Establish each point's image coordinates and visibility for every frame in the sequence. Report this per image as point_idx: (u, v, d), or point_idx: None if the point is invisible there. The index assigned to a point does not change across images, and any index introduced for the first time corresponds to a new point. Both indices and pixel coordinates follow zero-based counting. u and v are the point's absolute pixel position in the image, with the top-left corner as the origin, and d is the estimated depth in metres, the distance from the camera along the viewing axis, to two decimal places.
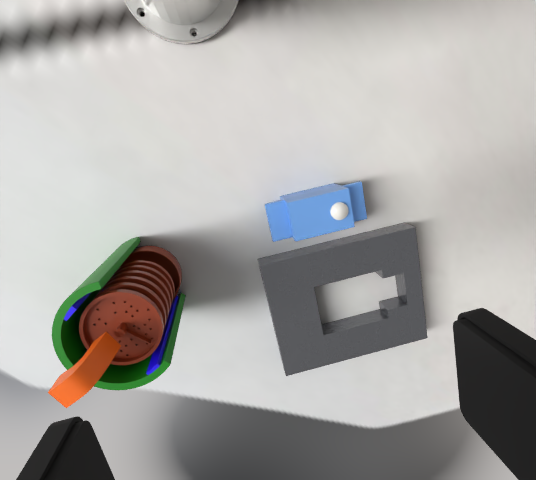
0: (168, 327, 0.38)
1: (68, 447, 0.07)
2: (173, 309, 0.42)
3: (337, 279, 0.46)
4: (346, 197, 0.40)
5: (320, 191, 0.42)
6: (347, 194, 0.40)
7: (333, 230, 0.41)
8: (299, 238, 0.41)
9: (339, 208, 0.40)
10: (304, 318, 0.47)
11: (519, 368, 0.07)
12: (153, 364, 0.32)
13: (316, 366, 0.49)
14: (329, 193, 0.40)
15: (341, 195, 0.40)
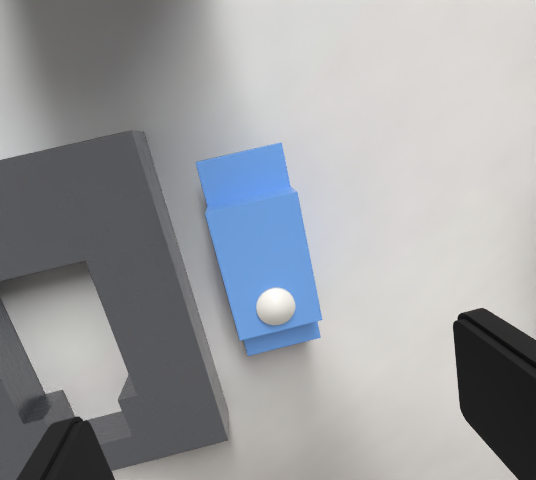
0: None
1: (68, 447, 0.07)
2: None
3: (108, 310, 0.21)
4: (303, 317, 0.19)
5: None
6: (309, 318, 0.19)
7: (231, 297, 0.18)
8: (212, 222, 0.17)
9: (282, 306, 0.18)
10: None
11: (519, 368, 0.07)
12: None
13: None
14: (312, 282, 0.19)
15: (307, 306, 0.19)
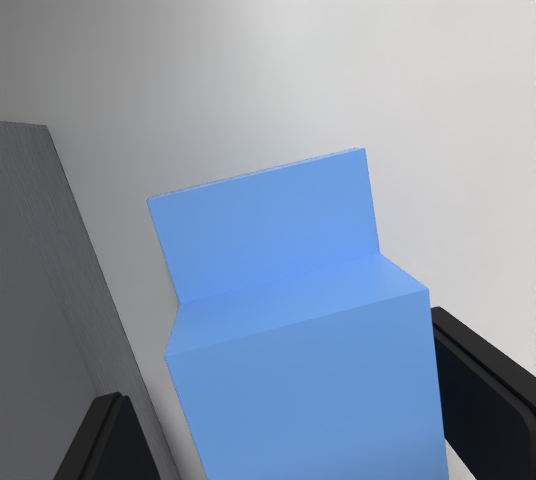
0: None
1: (114, 418, 0.08)
2: None
3: None
4: None
5: None
6: None
7: None
8: (186, 379, 0.06)
9: None
10: None
11: (462, 362, 0.07)
12: None
13: None
14: None
15: None
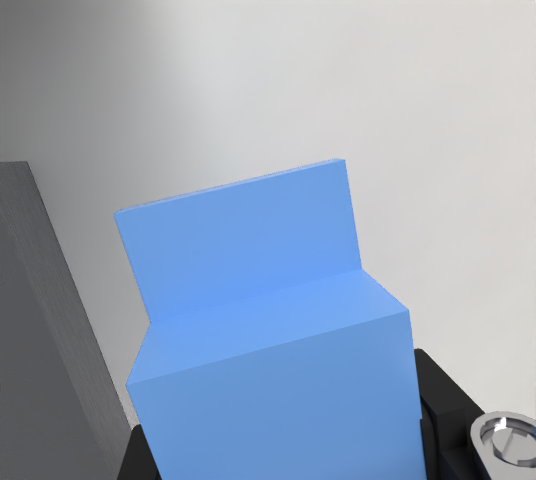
0: None
1: None
2: None
3: None
4: None
5: None
6: None
7: None
8: (150, 409, 0.06)
9: None
10: None
11: None
12: None
13: None
14: None
15: None
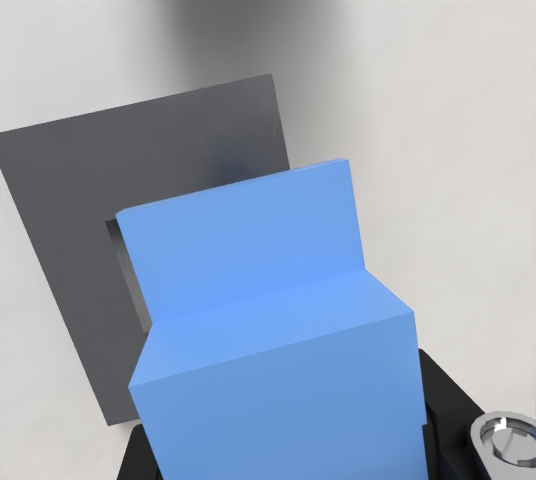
0: None
1: None
2: None
3: None
4: None
5: None
6: None
7: None
8: (152, 411, 0.06)
9: None
10: (145, 176, 0.21)
11: None
12: None
13: (21, 209, 0.21)
14: None
15: None
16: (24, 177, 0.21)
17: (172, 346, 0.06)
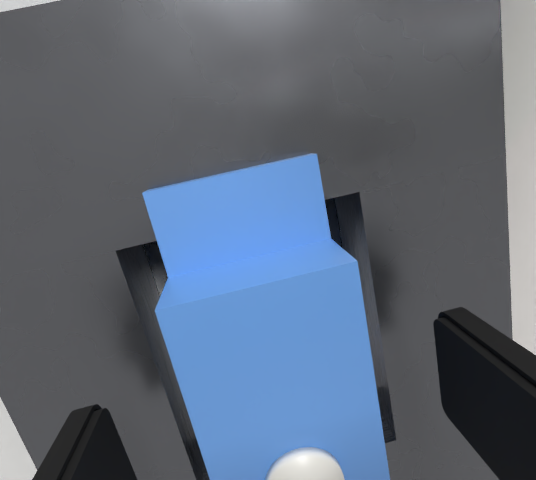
0: None
1: (89, 432, 0.08)
2: None
3: (380, 288, 0.11)
4: None
5: None
6: None
7: (214, 471, 0.09)
8: (171, 329, 0.08)
9: None
10: (206, 150, 0.10)
11: (491, 364, 0.07)
12: None
13: None
14: (378, 433, 0.09)
15: (366, 477, 0.10)
16: None
17: (184, 288, 0.09)
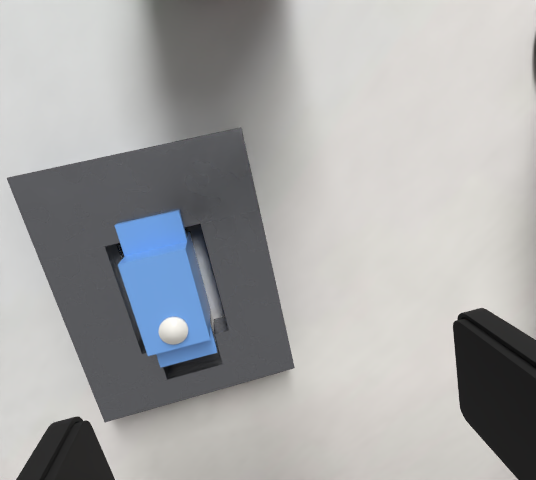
0: None
1: (68, 447, 0.07)
2: None
3: (213, 262, 0.28)
4: (195, 338, 0.26)
5: (201, 295, 0.27)
6: (200, 339, 0.26)
7: (140, 324, 0.25)
8: (123, 271, 0.24)
9: (178, 330, 0.25)
10: (139, 208, 0.26)
11: (519, 368, 0.07)
12: None
13: (34, 237, 0.25)
14: (201, 312, 0.26)
15: (198, 330, 0.26)
16: (37, 211, 0.25)
17: (128, 258, 0.25)
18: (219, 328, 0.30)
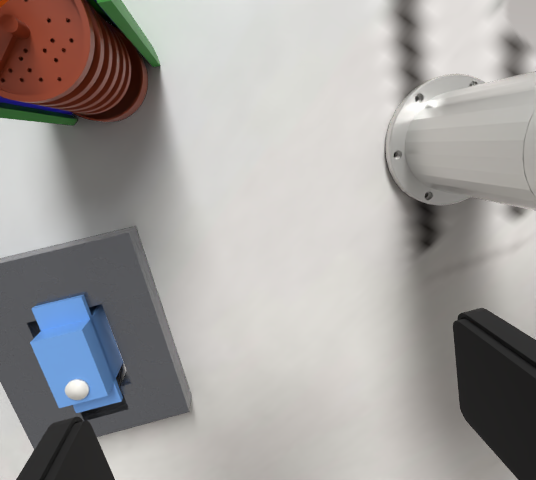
0: (22, 103, 0.24)
1: (68, 447, 0.07)
2: (51, 109, 0.28)
3: (114, 332, 0.35)
4: (96, 394, 0.33)
5: (105, 358, 0.35)
6: (100, 395, 0.34)
7: (50, 385, 0.33)
8: (34, 346, 0.32)
9: (80, 389, 0.33)
10: (51, 294, 0.33)
11: (519, 368, 0.07)
12: None
13: None
14: (99, 375, 0.33)
15: (97, 388, 0.33)
16: None
17: (41, 335, 0.32)
18: (126, 380, 0.37)
